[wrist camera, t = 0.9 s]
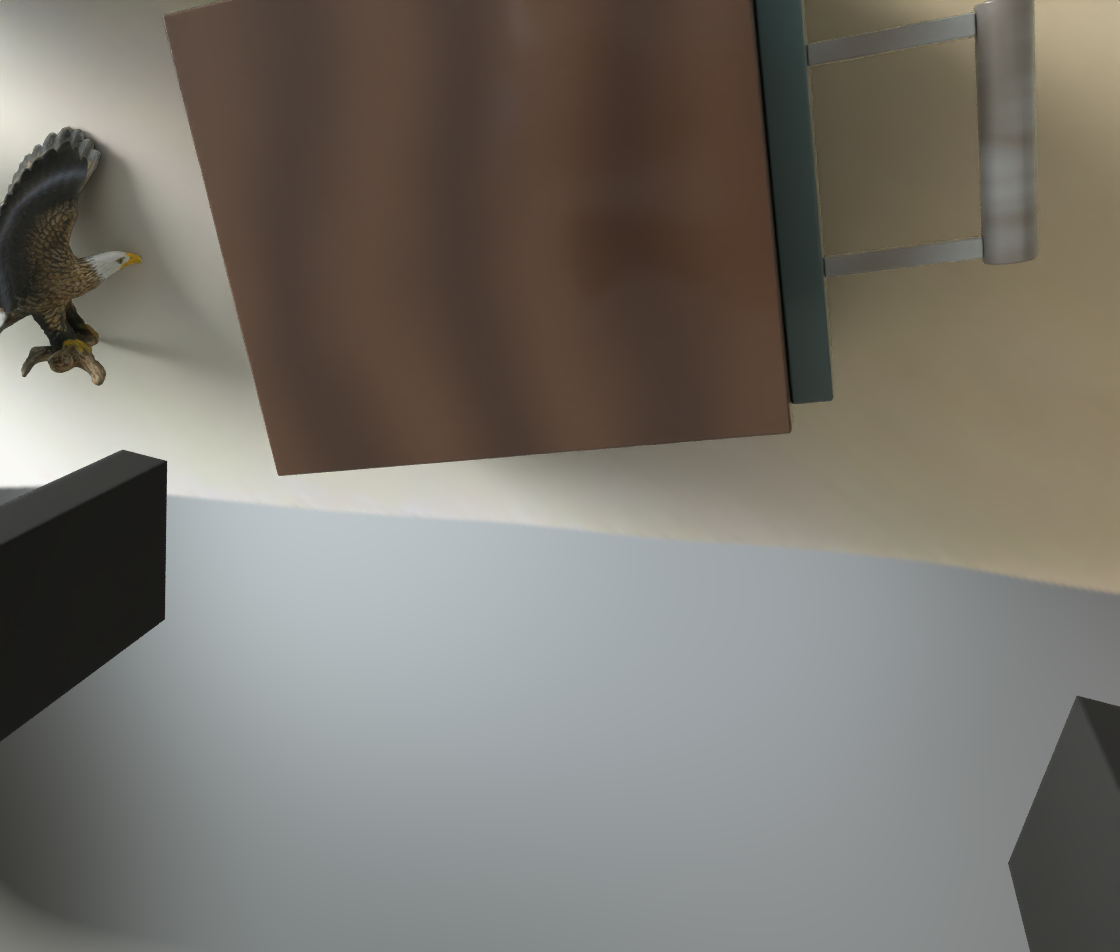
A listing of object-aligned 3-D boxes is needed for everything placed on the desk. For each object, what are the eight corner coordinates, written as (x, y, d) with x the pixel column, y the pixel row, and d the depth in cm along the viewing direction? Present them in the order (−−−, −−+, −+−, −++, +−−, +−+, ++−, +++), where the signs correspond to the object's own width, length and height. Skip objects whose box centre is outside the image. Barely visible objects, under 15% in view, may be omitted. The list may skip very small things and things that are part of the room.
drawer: (1004, -100, 30) (1052, -161, 23) (1015, 333, 34) (1058, 380, 27) (354, 42, 36) (253, 23, 29) (426, 394, 40) (350, 445, 33)
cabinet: (761, -63, 32) (739, -125, 24) (799, 366, 37) (792, 434, 28) (304, 39, 37) (160, 14, 29) (384, 408, 41) (277, 476, 33)
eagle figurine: (197, 355, 41) (136, 129, 37) (19, 415, 37) (-74, 169, 33) (125, 317, 46) (63, 115, 42) (-39, 367, 42) (-127, 148, 38)
